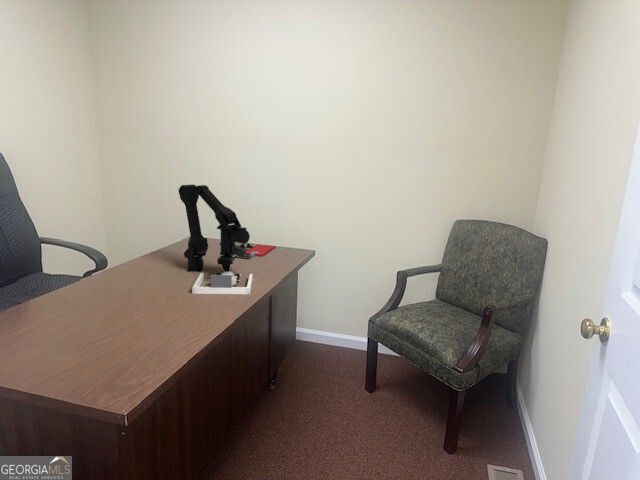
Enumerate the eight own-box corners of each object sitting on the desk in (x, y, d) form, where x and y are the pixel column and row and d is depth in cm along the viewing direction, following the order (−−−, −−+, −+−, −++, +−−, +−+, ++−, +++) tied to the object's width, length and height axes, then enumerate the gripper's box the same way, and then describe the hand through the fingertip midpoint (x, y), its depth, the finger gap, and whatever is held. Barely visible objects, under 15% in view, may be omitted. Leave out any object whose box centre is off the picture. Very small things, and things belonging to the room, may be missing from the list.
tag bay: (192, 293, 166) (191, 275, 164) (200, 278, 184) (200, 261, 183) (249, 294, 168) (249, 276, 166) (252, 279, 187) (252, 262, 185)
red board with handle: (230, 257, 220) (257, 261, 217) (230, 252, 219) (257, 255, 216) (251, 245, 249) (276, 248, 246) (252, 241, 248) (276, 244, 245)
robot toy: (214, 280, 186) (208, 289, 171) (214, 270, 185) (208, 278, 170) (242, 280, 187) (238, 289, 172) (242, 270, 186) (239, 278, 171)
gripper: (244, 245, 175) (244, 281, 178) (247, 235, 193) (247, 268, 196) (217, 245, 174) (217, 281, 177) (222, 235, 192) (222, 268, 195)
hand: (227, 274), depth 186 cm, fingers closed
